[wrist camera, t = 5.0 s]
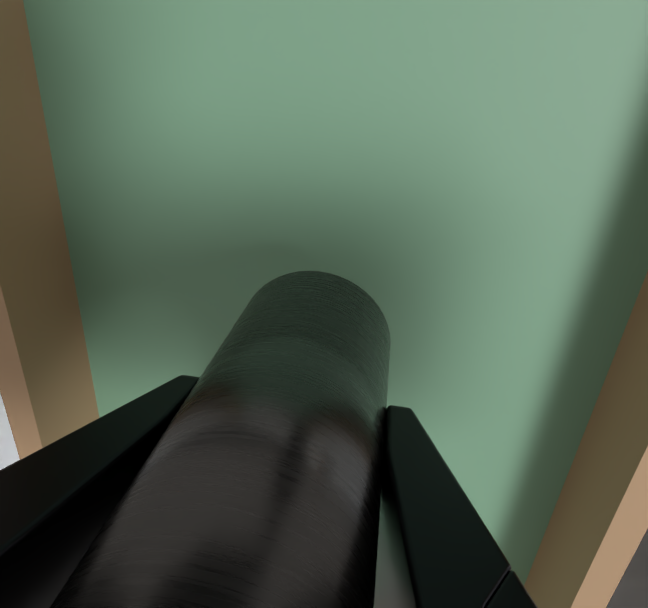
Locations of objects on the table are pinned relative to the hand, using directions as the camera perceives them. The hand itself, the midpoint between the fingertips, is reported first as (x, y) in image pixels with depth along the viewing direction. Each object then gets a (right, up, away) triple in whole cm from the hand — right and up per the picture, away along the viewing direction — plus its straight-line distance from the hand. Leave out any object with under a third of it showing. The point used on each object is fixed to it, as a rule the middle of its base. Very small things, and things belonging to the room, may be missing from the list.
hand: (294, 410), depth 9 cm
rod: (0, -4, +7) cm, 7 cm away
